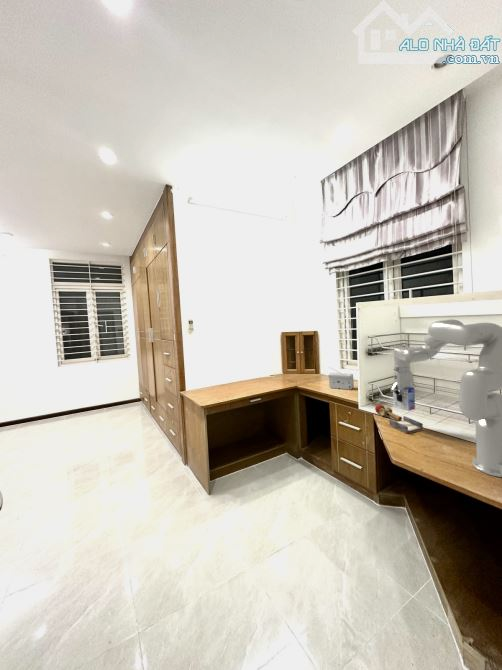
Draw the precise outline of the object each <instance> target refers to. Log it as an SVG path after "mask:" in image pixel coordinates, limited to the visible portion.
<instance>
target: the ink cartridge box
mask: <svg viewBox="0 0 502 670" xmlns="http://www.w3.org/2000/svg"><path fill="white" fill-rule="evenodd" d="M398 392H399V390H398ZM401 395H402V402H399V401H397V396H396V394H395V392H394V391H392V398H393V400H392V401H393V407H396V408H397V409H398V408H399V409H401V410H405V411H408V412H409V411H413V410H416V401H415V400H416V399H415V398H416V397H415V387H414V388H412V387H411V388H405V389H404V390H402V391H401Z"/></svg>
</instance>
